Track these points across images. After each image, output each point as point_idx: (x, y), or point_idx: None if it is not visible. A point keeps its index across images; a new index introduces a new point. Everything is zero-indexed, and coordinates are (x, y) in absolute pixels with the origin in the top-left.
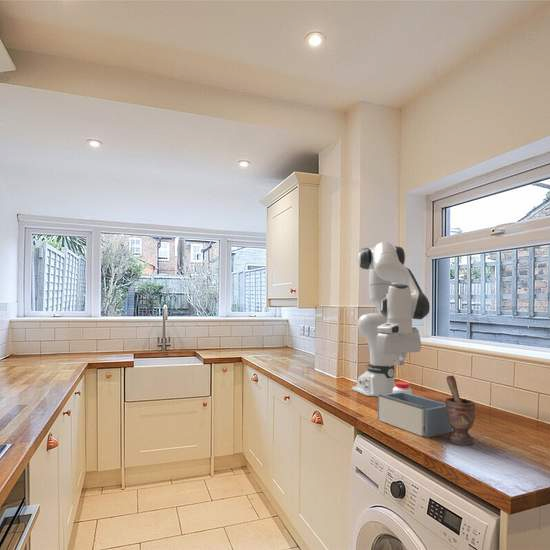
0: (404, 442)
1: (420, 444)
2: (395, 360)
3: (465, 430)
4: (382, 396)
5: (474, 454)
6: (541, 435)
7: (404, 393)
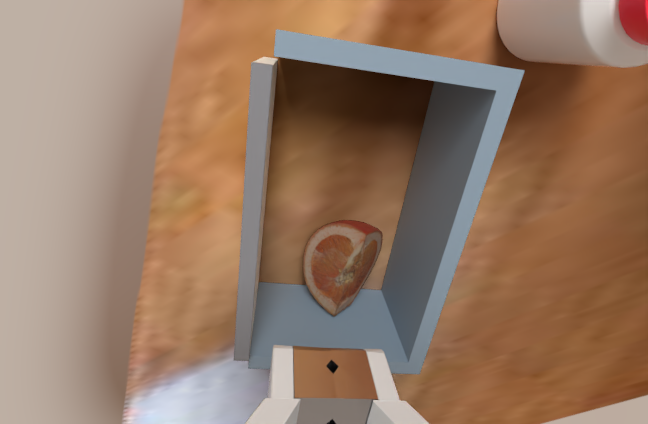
0: (142, 278)
1: (179, 312)
2: (268, 402)
3: None
4: (250, 97)
5: (252, 407)
6: (545, 417)
7: (488, 113)
